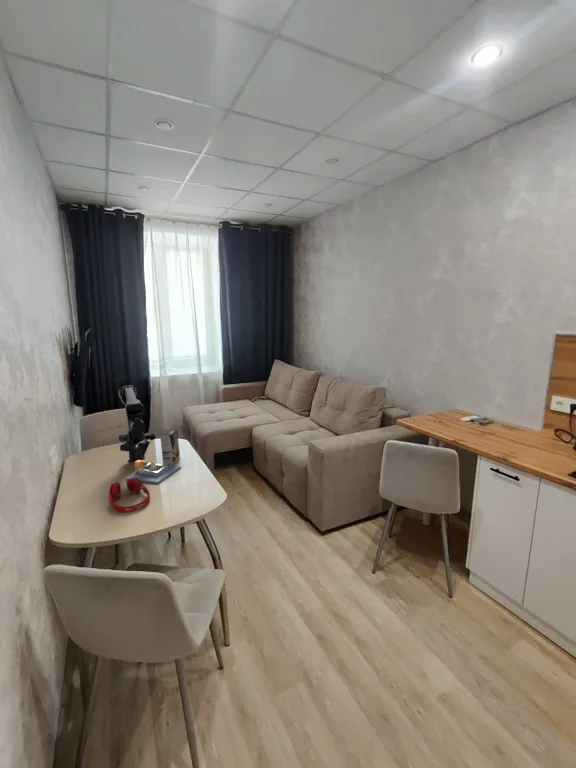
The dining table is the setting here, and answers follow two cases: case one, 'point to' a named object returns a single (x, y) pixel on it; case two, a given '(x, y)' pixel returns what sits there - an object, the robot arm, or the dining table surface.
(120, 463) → the dining table surface
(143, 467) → the grey frame with tab
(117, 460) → the dining table surface
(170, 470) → the keeper
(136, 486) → the headphones
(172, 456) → the coffee box
